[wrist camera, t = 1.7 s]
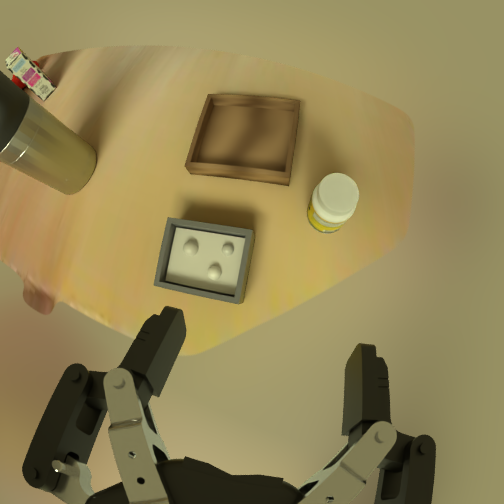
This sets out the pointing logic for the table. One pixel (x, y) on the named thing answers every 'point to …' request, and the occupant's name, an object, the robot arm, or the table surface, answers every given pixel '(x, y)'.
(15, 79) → the tomato
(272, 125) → the walnut tray
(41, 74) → the candy bar box
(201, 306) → the table surface
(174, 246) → the bin
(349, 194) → the supplement bottle
